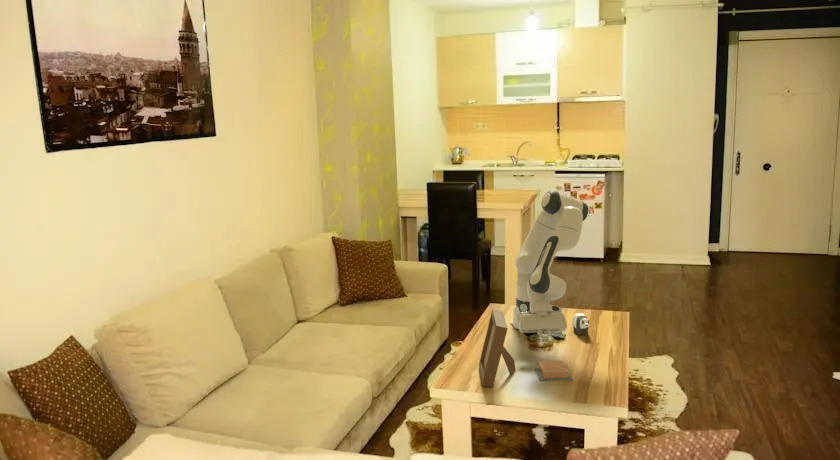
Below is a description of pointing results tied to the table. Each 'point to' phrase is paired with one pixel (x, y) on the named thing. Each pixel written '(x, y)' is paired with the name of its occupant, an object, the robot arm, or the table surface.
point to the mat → (551, 378)
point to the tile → (553, 369)
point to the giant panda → (580, 323)
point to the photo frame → (494, 349)
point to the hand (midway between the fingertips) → (545, 340)
